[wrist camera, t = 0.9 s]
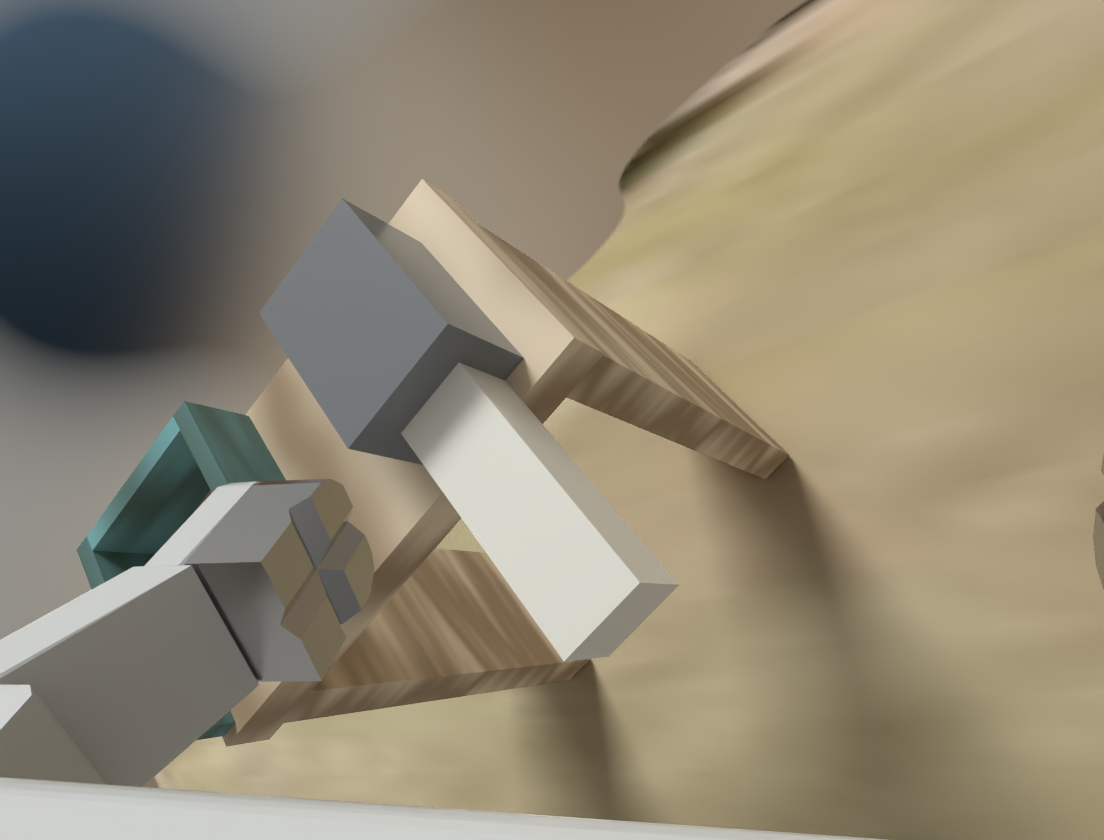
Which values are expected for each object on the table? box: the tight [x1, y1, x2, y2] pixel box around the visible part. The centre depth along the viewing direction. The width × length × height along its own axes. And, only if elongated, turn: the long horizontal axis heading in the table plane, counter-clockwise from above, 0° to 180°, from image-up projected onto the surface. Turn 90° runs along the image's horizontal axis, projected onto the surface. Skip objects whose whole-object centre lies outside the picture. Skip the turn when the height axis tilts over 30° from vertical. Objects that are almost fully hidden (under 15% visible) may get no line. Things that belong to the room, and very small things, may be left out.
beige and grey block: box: [259, 199, 679, 661], centre depth 26 cm, size 16×5×4 cm, turn 41°
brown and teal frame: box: [77, 179, 789, 746], centre depth 41 cm, size 20×10×29 cm, turn 131°
